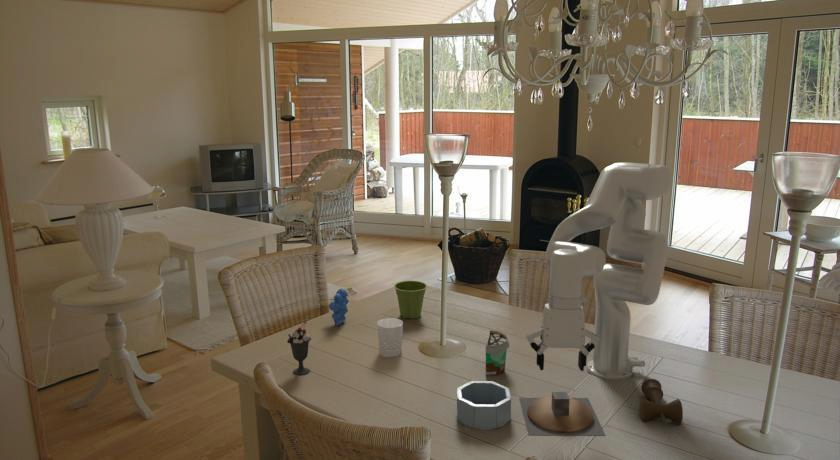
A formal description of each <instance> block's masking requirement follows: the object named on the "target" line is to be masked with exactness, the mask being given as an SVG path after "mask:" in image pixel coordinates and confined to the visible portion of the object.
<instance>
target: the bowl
mask: <svg viewBox="0 0 840 460" xmlns="http://www.w3.org/2000/svg"><path fill="white" fill-rule="evenodd" d="M456 412H457V413H456V414H457V417H456V418H457V420H458V422H459V423H460V424H461V425H462V426H463V427H466V428H468V429H469V428H473V429H476V430H494V429H495V430H496V429H499V428H502V427H503V426H505V425H507V424H508V423H509V421H510V420H511V419H512V395H511V391H510V388H509V387H507V386H506V385H502V384H500V383H498V382H495V381H491V380H489V381H488V380H471V381H469V382H467V383H465V384H463V385H461V386H458V387H457V388H456Z"/></svg>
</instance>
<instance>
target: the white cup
mask: <svg viewBox="0 0 840 460" xmlns="http://www.w3.org/2000/svg"><path fill="white" fill-rule="evenodd" d="M403 326H404V322H403V320H401V319H399V318H394V317H387V318H386V317H385V318H382V319H379V320H378V321H376V327H377V329H376V330H377V339H378V340H377V341H378V349H379V354H380V356H382V357H384V358H397V357H398V356H401V354H402V349H403V348H402V346H403V331H404V330H403V329H404V327H403Z"/></svg>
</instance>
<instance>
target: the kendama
mask: <svg viewBox="0 0 840 460" xmlns="http://www.w3.org/2000/svg"><path fill="white" fill-rule="evenodd" d="M640 388H641V392H642V394H643V395H644V397H645V398H643V397H642V398H640V400H639V405H638V406H639V407H638V411H639V418H640V420H641V421H642V422H647V421H649V420H652V419H656V418H657V419H660V418H661V420H662V422H663V424H664V425H667V420H669V421H672V422H673V423H674V424H676V425H677V426H678V425H679V426H681V425H682V423H683V418H684V417H683V414H684V413H683V412H684V411H683V404H682V401H681V400H680V399H679V398H677V399H674V400H672V401H670V402H669V403H662V399H663V397H664V392H663V388H662V384H661V382H660V381H659V380H657V379H656V378H655V379H654V378H647V379H644V380H643V381H642V383H641V385H640ZM666 419H667V420H666Z"/></svg>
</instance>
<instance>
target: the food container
mask: <svg viewBox="0 0 840 460" xmlns="http://www.w3.org/2000/svg"><path fill="white" fill-rule="evenodd" d="M509 347H510V342H509V339H508V336H507V335H506V334H504V333H503V332H500V331H497V330H490V329H489V337H488V339H487V344H486V345H485V376H487V377H492V376H498V375H503V374H504V373H505V372H506V371H505V370H506V360H507V352H508V351H507V350H508V348H509Z"/></svg>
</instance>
